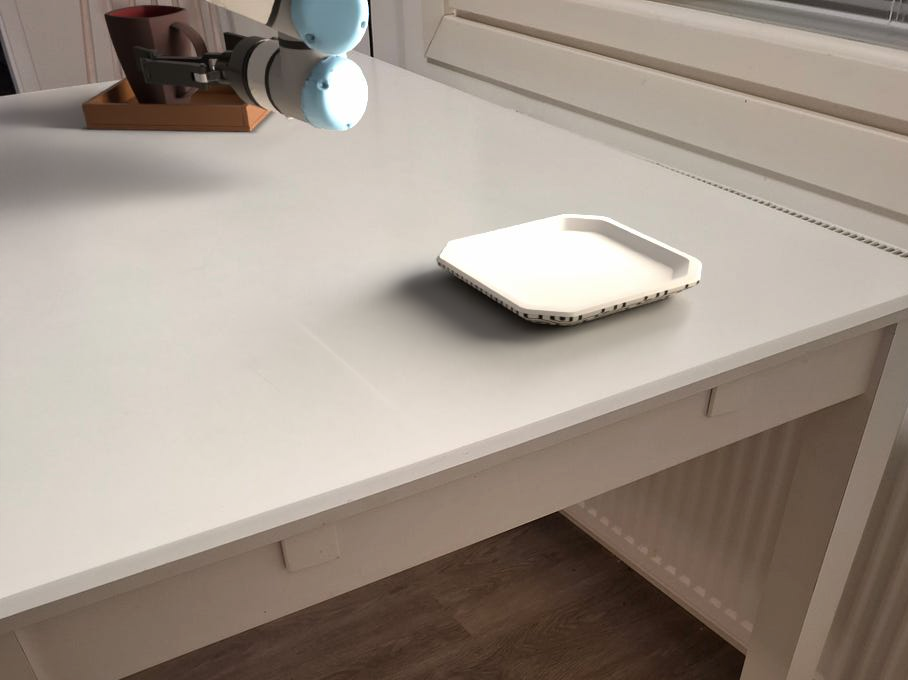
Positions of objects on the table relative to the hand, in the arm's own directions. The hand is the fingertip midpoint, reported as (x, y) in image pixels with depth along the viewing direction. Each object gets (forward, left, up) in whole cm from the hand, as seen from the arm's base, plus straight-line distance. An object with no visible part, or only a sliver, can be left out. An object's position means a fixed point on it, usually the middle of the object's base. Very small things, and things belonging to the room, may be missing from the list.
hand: (183, 50), depth 123 cm
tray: (-3, +7, -9) cm, 12 cm away
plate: (+54, -53, -9) cm, 76 cm away
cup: (-5, +5, -9) cm, 11 cm away
